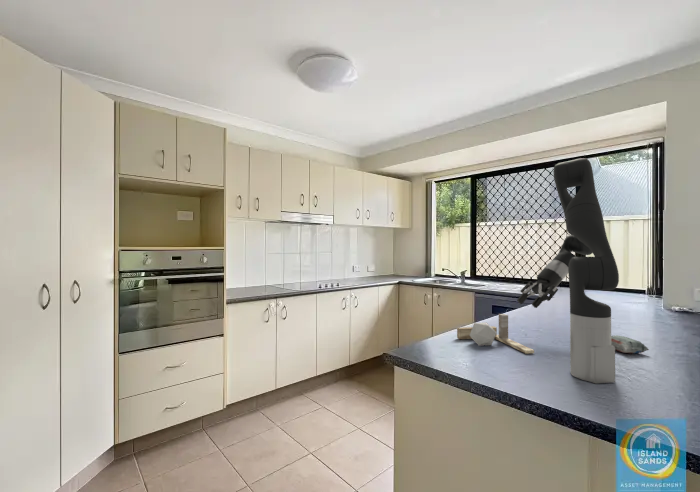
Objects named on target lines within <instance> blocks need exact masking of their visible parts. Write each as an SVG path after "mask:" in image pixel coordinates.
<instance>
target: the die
mask: <svg viewBox="0 0 700 492" xmlns="http://www.w3.org/2000/svg"><path fill="white" fill-rule="evenodd" d="M491 326H492V325H490V324H488V323H487V322H475V323H473V326H472V327H473V328H472V330H471V333H470V335H469V336H470V337H471V338H472V340H473V341H474V342H475V343H476V344H477V346H478V347H482V346H484V345H485V346H492V345H493V343H494V340H495V335H496V333H497V332H496V331H495V330H494V329H493V328H492V327H491ZM497 334H498V333H497Z"/></svg>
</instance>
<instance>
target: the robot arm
mask: <svg viewBox="0 0 700 492" xmlns="http://www.w3.org/2000/svg"><path fill="white" fill-rule="evenodd" d="M553 178H554V183H555V186H556V187H555V188H556V191H557V195H558V198H559V201H560V205H561V207H562V211H563V214H564V219H565V225H566V231H567V233H568V234H569V235H568V236H566V237H565V238H564V240H563V243H562V246H561V247H560V249H559V252H558V253H557V255H556V256H555V257H553V259H552V260H551V261H549V262H548V263H547V264H546V265H545V266H544V267H543V269H542V270H541V271H540V272H539V273H538V274H537V275H536V281H535V282H532V281H531V280H530V281H528V282H527V283H526V284H525V285H524V287H523V288H522V289H520V293H522V294H521V295H520V296H519V297H518V298H517V302H518V303H519V304H520V305H523V303H524V302H525V301H526V300H527V299H528V298H529V297H531V296H535V295H538V296H537V297H536V298H535V299H534V300H533V301H532V303H531V306H532V307H533V308H535V309H537V308H538V307H539V306H541V304H542V303H543V302H545V301H547V302H549V301H551V300H552V299H553V297H554V296H555V295H556V293H557V292H558V291H559V289H558V286H559V285H560V283H562V281H563V280H564V279H565V278H566V277H567V275H568V283H569V285H568V286H569V321H570V322H569V332H570V333H569V345H570V346H569V347H570V348H569V350H570V351H569V357H570V358H569V359H570V360H569V361H570V362H569V363H570V367H569V369H570V374H571V376H573V377H575V378H576V379H579V380H583V381H585V382H590V383H593V384H607V383H609V384H611V383H616V350H615V347H614V346H612V345H611V336H612V308H611V306H610V305H608V304H606V303H603V302H600V301H598V300H594V299H592V298H591V297H590V296H587V295H586V293H585V291H587V290H588V291H613V290H615V289H616V288H617V287H618V285H619V282H620V275H619V274H620V273H619V269H618V265H617V262H616V259H615V256H614V253H613V251H612V248H611V246H610V243H609V240H608V236H607V232H606V231H607V230H606V227H605V221H604V217H603V212H602V209H601V206H600V202H599V199H598V196H597V190H596V185H595V179H594V173H593V167H592V163H591V161H590V160H589V159H588V158H586V157H585V158H584V157H583V158H581V157H580V158H576V159H572V160H568V161H563V162H558V163H556V164H555V165H554V166H553ZM579 186H580V187H579ZM575 187H579V189H578V191H577V193H576V194H575V195H574V196H571V194H570V193H569V190H568V189H569V188H575ZM574 253H576V254H579V255H583V256H576V255H575V254H574ZM592 254H593V256H590V255H592Z"/></svg>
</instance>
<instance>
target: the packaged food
mask: <svg viewBox="0 0 700 492" xmlns="http://www.w3.org/2000/svg"><path fill="white" fill-rule="evenodd" d="M611 345H612V346H614V347H615V352H620V353H623V354H624V353H626V354H642V353H645V352H646V351H649V350H650V349H649V347H647V346H646V345H645V344H644V343H642V342H641V341H639V340H636V339H634V338H630V337H628V336H623V335H611Z"/></svg>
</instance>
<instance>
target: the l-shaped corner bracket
mask: <svg viewBox="0 0 700 492" xmlns="http://www.w3.org/2000/svg"><path fill="white" fill-rule="evenodd" d="M490 326H491V327H492V328H493V329H494V330H495V331H496V332H497V329H498V333H496V335H495V338H494V340H497V341H499V342H501V343H504V344H505V345H508V346H510V347H511V348H512V349H513V348H514V349H515V350H518V351H519V352H522V353H524V354H527V355H528V354H535V350H534V349H532V348H530V347H527V346H525V345H523V344H522V343H519V342H517V341H515V340H512V339H510V338H509V314H506V313H498V328H497V327H496V326H494V325H493V326H492V325H490ZM472 328H473V326H471V327H470V326H469V327H468V326H467V327H457V328H456V338H457V339H458V340H471V339H472V338H471V337H470V336H469V335H470V333H471V330H472ZM472 340H473V339H472Z"/></svg>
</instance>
